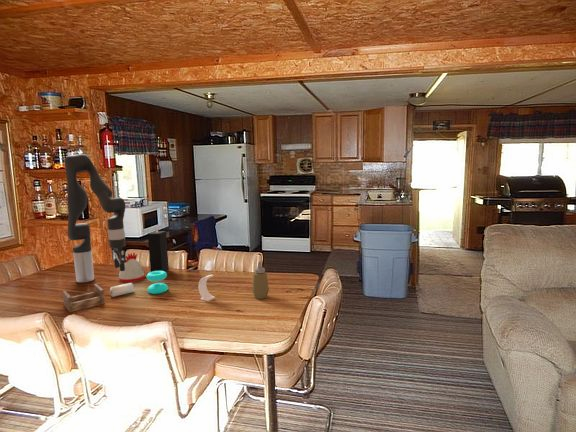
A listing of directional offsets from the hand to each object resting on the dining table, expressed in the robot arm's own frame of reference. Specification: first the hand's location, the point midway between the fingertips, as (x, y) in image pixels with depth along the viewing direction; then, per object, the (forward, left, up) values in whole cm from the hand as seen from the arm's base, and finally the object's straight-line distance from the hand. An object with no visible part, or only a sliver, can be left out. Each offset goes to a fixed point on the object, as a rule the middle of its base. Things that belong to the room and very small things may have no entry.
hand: (119, 269), depth 190 cm
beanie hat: (-24, +13, -14) cm, 31 cm away
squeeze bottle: (+54, +48, -13) cm, 73 cm away
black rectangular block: (-25, +30, -13) cm, 41 cm away
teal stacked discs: (+9, +15, -14) cm, 22 cm away
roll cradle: (+2, -18, -13) cm, 22 cm away
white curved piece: (+37, +28, -13) cm, 48 cm away
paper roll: (0, 0, -13) cm, 13 cm away
